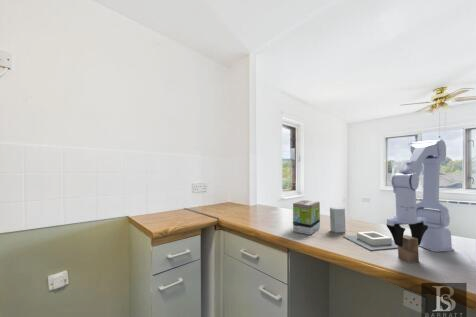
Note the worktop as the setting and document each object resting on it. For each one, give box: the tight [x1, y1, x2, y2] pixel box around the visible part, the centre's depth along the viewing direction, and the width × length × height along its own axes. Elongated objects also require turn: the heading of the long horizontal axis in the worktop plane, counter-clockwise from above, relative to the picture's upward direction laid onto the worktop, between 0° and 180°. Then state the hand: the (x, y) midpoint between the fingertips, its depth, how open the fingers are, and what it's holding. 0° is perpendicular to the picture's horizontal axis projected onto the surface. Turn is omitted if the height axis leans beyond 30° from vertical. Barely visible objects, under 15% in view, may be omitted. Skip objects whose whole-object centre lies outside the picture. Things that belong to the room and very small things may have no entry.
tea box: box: [292, 199, 321, 236], centre depth 108 cm, size 15×10×15 cm, turn 143°
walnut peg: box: [397, 234, 420, 264], centre depth 72 cm, size 4×4×8 cm
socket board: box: [342, 230, 398, 252], centre depth 89 cm, size 18×16×3 cm
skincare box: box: [329, 206, 347, 234], centre depth 104 cm, size 6×4×12 cm
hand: (407, 244), depth 72 cm, fingers open, 7 cm apart
